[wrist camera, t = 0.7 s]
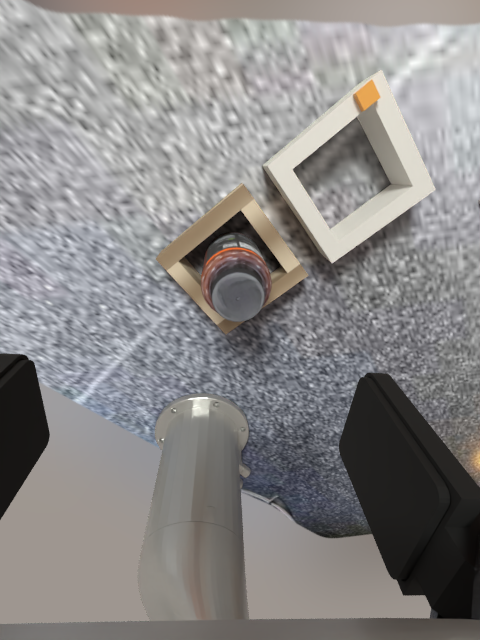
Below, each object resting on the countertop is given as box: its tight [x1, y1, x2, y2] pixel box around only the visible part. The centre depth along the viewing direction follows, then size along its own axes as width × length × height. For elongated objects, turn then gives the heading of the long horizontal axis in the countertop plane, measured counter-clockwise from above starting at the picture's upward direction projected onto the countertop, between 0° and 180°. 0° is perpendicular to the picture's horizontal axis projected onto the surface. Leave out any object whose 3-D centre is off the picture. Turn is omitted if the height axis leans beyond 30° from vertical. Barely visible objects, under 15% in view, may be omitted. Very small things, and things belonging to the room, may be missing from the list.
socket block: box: [262, 70, 436, 263], centre depth 29 cm, size 11×11×5 cm
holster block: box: [156, 183, 308, 334], centre depth 32 cm, size 11×11×3 cm
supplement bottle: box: [201, 232, 272, 322], centre depth 29 cm, size 6×6×11 cm
